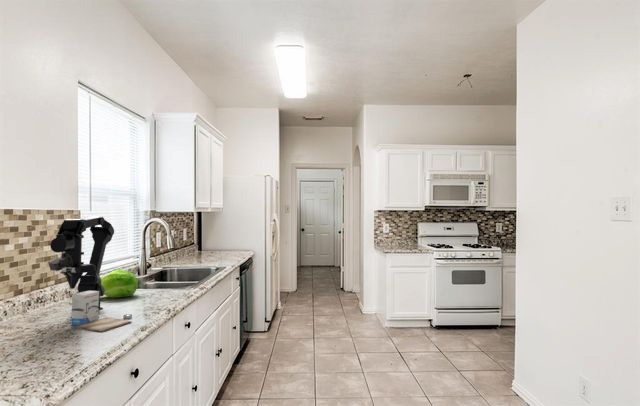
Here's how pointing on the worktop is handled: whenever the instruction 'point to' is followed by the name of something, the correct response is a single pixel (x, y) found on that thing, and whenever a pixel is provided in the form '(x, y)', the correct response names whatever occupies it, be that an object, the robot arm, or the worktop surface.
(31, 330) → the worktop surface
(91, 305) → the ink box
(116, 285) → the lettuce
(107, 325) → the walnut board
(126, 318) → the silver domed disc
